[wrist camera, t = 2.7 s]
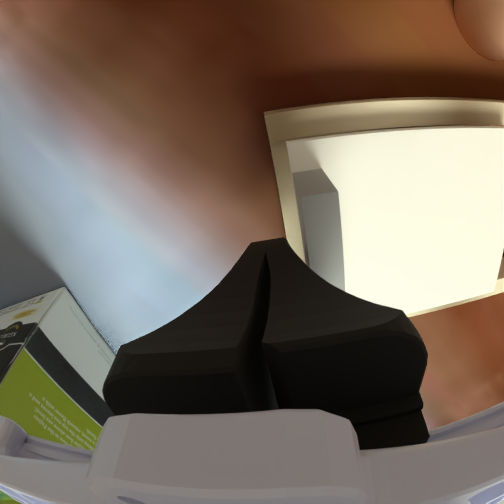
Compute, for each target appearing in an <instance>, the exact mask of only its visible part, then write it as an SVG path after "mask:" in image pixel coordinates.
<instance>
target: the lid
mask: <svg viewBox="0 0 504 504" xmlns="http://www.w3.org/2000/svg"><path fill="white" fill-rule="evenodd" d="M286 144H287V150H288V156H289V162H290V168H291V174H292V180H293V186H294V192H295V199H296V205H297V212H298V218H299V225H300V232H301V239H302V246H303V254H304V261H305V264H306V265H307V266H309V267H310V268H311V269H312V270H313V271H314V272H315V273H317V274H318V275H319V276H320V277H322V278H323V279H324V280H326V281H327V282H329V283H330V284H332V285H334V286H335V287H337V288H339V289H341V290H343V291H345V292H347V293H349V294H351V295H354V296H356V297H358V298H361V299H364V300H367V301H370V302H372V303H376V304H380V305H384V306H388V307H392V308H396V309H400V310H403V312H404V313H405V314H408V313H413V312H417V311H421V310H426V309H430V308H434V307H438V306H442V305H446V304H450V303H454V302H458V301H461V300H465V299H469V298H473V297H476V296H480V295H483V294H487V293H490V292H494V290H495V286H496V282H497V278H498V273H499V269H500V264H501V260H502V255H503V249H504V126H438V127H415V128H399V129H385V130H373V131H363V132H353V133H344V134H335V135H327V136H319V137H312V138H305V139H298V140H292V141H286Z"/></svg>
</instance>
